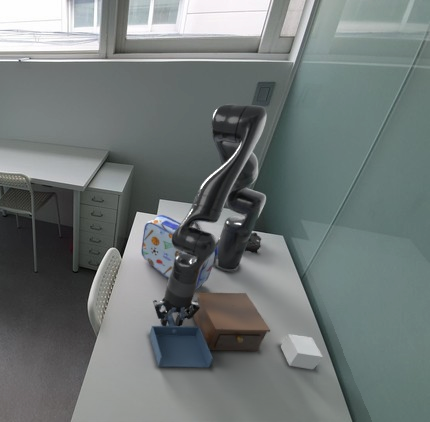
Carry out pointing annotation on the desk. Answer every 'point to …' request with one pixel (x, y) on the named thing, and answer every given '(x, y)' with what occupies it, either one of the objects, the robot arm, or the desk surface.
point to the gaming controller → (253, 243)
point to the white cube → (301, 351)
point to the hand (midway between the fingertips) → (170, 324)
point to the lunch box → (168, 248)
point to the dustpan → (180, 346)
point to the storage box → (230, 321)
